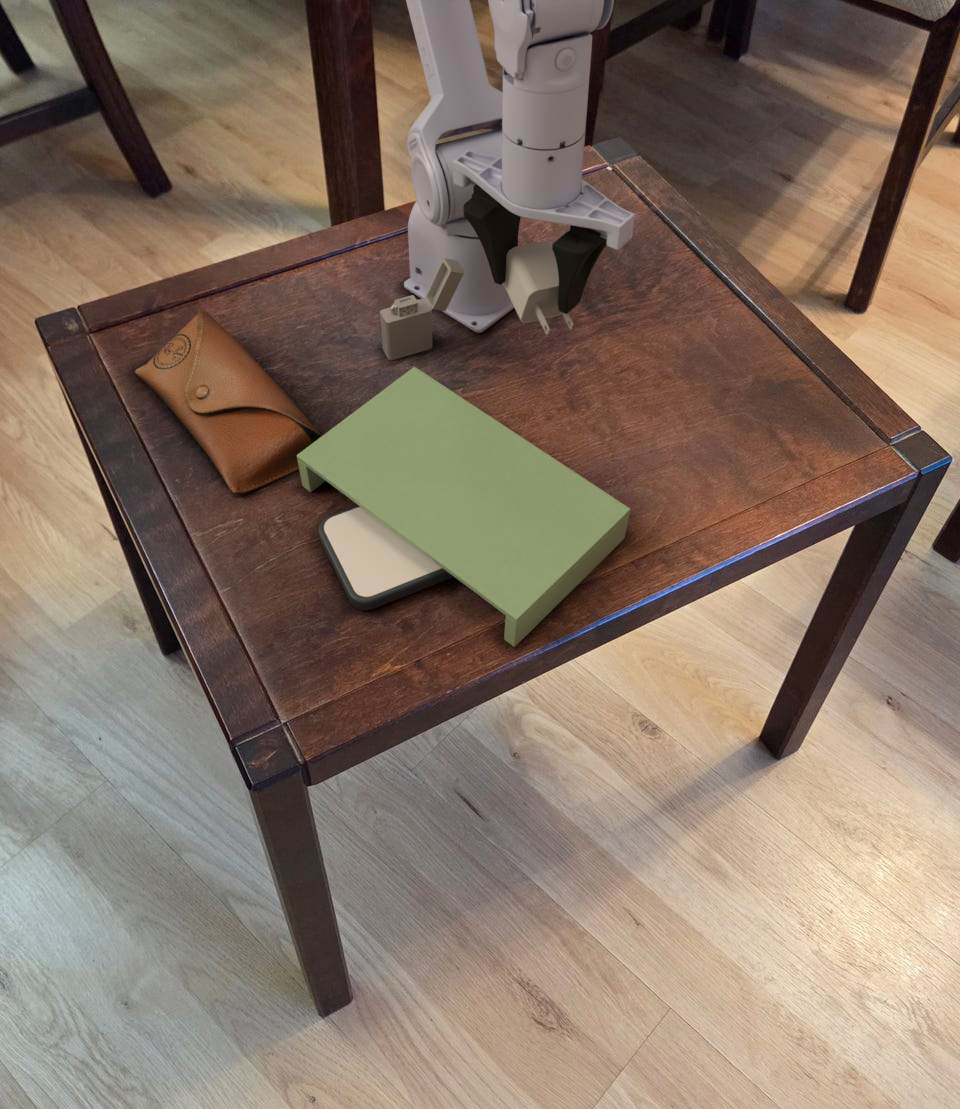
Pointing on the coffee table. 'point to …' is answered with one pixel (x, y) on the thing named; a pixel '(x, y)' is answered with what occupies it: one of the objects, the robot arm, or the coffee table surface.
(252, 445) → the sunglasses case
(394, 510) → the riser stand
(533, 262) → the usb wall charger
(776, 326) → the coffee table surface
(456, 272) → the lighter
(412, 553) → the phone case
